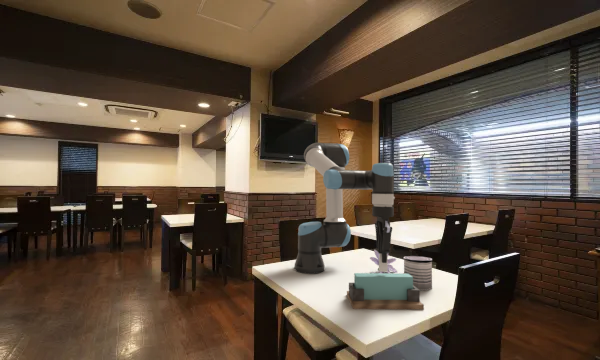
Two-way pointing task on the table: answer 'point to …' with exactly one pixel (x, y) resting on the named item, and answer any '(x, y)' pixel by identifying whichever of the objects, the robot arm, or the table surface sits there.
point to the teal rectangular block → (383, 285)
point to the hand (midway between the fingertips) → (383, 270)
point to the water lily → (388, 262)
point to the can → (419, 271)
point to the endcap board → (359, 303)
